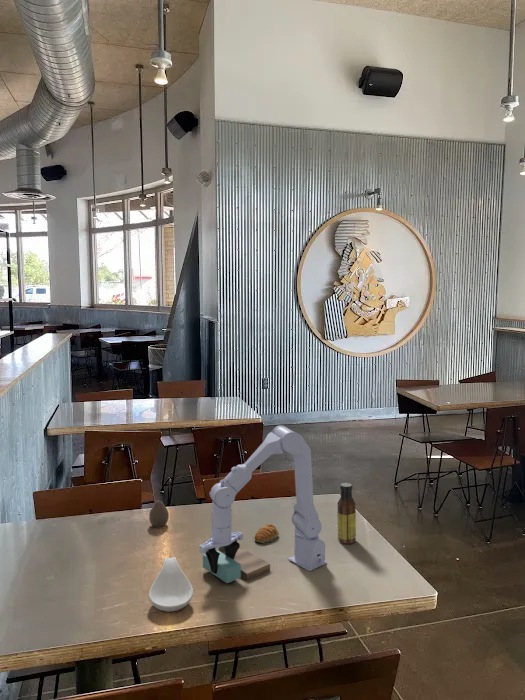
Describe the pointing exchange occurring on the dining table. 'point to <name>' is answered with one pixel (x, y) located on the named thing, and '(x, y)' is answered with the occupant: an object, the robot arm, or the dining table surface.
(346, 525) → the sauce bottle
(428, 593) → the dining table surface
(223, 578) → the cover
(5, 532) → the dining table surface
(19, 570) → the dining table surface
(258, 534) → the pastry
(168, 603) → the spoon rest
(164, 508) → the grey oval piece
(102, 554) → the dining table surface
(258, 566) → the base
